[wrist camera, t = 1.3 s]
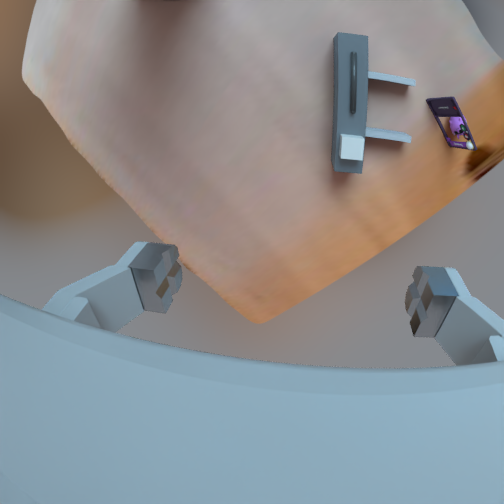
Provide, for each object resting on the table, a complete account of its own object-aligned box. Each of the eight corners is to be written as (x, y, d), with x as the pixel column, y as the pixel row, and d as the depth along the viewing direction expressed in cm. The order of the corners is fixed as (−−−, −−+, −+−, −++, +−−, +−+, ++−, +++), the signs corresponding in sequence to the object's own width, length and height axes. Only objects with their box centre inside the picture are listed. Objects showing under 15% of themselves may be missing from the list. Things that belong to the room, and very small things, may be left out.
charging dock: (333, 38, 33) (339, 29, 26) (409, 50, 31) (428, 46, 24) (331, 159, 44) (335, 175, 37) (400, 167, 42) (416, 184, 35)
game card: (450, 99, 28) (473, 153, 32) (466, 85, 28) (489, 137, 31) (422, 101, 35) (446, 148, 38) (440, 88, 34) (462, 134, 37)
